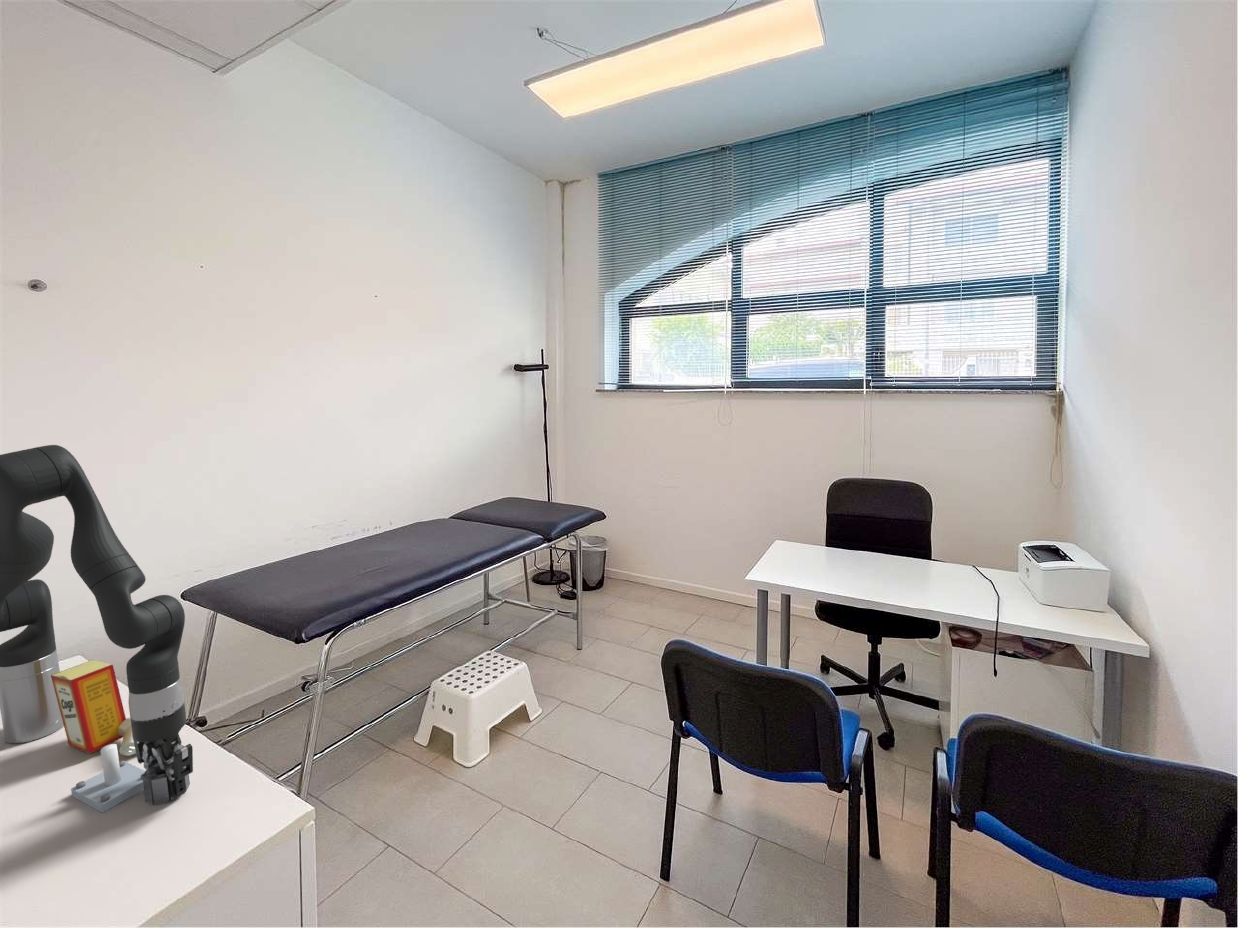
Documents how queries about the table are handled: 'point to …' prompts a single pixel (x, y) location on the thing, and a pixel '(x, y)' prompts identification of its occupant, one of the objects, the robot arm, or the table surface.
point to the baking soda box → (89, 705)
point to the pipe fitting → (126, 738)
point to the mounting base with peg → (110, 782)
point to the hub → (158, 785)
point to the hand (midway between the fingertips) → (167, 789)
